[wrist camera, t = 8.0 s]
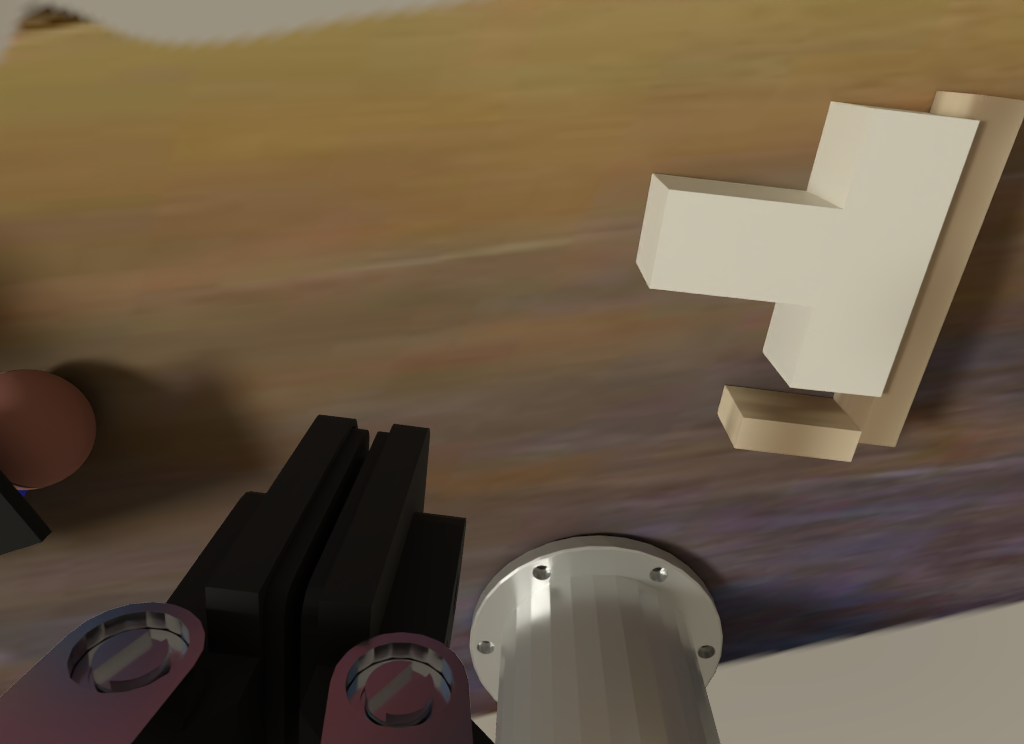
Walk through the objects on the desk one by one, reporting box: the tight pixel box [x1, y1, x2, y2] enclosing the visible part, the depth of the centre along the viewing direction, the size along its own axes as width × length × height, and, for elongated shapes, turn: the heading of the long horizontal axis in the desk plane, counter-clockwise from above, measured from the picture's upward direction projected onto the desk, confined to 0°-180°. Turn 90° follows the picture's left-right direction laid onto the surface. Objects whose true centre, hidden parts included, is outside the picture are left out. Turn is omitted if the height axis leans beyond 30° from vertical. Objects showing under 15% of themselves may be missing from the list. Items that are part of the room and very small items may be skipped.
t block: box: [636, 101, 980, 397], centre depth 27 cm, size 10×10×4 cm
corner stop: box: [717, 91, 1024, 462], centre depth 27 cm, size 6×14×3 cm, turn 173°
